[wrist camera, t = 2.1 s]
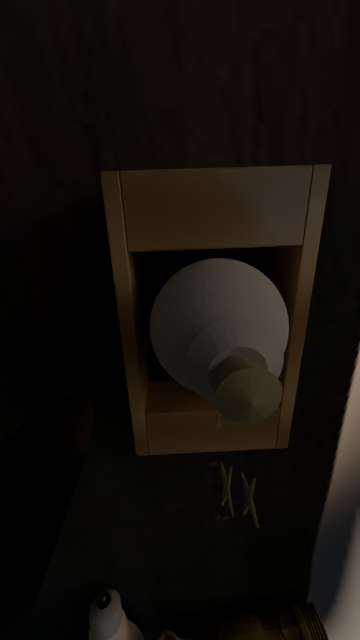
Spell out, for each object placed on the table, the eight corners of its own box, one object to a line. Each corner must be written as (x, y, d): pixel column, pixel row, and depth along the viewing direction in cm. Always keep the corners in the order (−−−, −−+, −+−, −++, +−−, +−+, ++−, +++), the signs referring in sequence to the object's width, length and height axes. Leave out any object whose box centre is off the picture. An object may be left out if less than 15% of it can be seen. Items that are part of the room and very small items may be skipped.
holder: (268, 411, 17) (287, 448, 14) (141, 418, 17) (136, 456, 14) (294, 178, 12) (332, 163, 9) (116, 183, 12) (99, 171, 9)
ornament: (271, 257, 13) (504, 331, 4) (244, 376, 16) (348, 589, 7) (158, 245, 13) (125, 297, 4) (149, 369, 16) (116, 587, 6)
